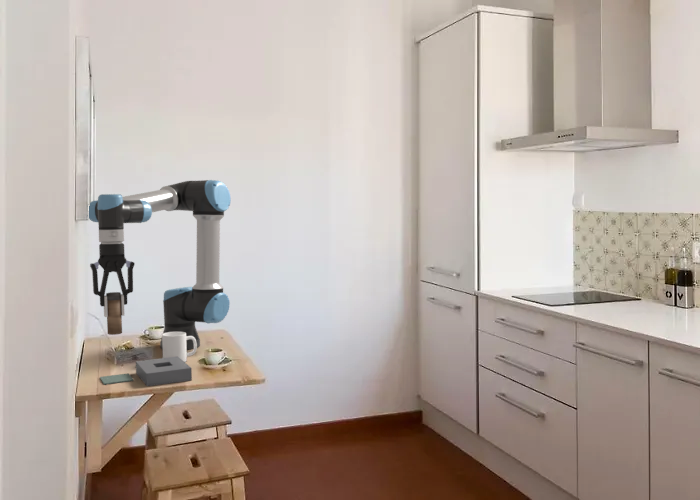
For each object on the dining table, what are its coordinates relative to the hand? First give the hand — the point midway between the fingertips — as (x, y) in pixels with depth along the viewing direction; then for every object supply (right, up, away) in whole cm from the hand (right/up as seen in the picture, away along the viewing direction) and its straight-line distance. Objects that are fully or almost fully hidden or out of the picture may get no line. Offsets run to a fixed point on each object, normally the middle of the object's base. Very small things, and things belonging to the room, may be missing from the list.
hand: (114, 315), depth 219 cm
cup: (+15, -19, +25) cm, 35 cm away
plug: (0, -6, 0) cm, 6 cm away
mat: (0, -21, +2) cm, 21 cm away
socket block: (+14, -20, +5) cm, 25 cm away
